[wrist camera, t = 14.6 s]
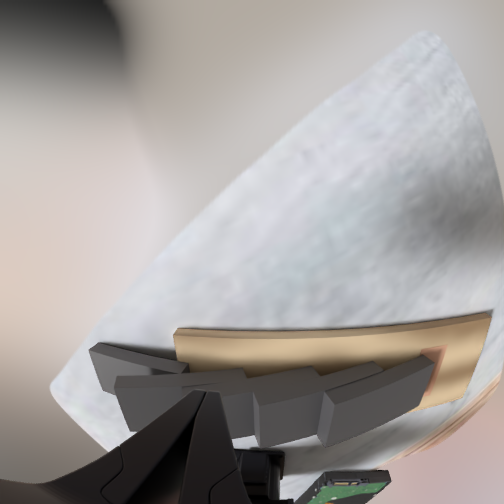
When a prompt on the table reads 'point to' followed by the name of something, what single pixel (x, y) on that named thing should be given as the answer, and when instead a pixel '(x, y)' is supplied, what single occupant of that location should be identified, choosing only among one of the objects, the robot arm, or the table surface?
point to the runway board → (346, 351)
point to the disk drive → (345, 487)
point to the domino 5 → (372, 401)
